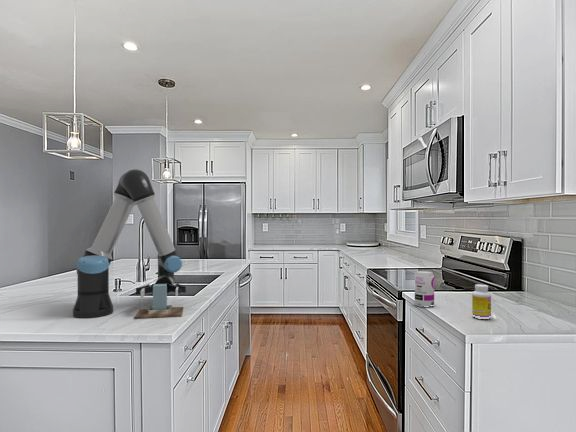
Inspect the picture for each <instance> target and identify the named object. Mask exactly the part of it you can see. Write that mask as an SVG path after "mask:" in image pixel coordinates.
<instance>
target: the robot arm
mask: <svg viewBox="0 0 576 432" xmlns="http://www.w3.org/2000/svg"><path fill="white" fill-rule="evenodd" d="M113 196H114V199H113V202H112V205H110V208H109V210H108V213H107V214H106V217H105V218H104V220H103V223H102V225H101V226H100V229H99V231H98V233H97V235H96V237H95V239H94V241H93V243H92V245H91V247H88V248H86V249H85V251H84V253H83V256H81V257H79V258H78V260H77V264H76V275H77V297H76V300H75V303H74V305H73V309H72V317H74V318H79V319H81V318H82V319H84V318H85V319H89V318H99V317H104V316H108V315H110V314H112V313H114V305H113V302H112V299H111V296H110V293H109V288H110V286H109V285H110V281H109V280H110V278H109V274H110V273H109V267H110V265H111V263H112V261H113V257H112V253H113V250H114V249H115V246H116V244H117V241H118V240H119V238H120V235H121V233H122V232H123V230H124V228H125V225H126V223H127V220H128V219H129V218H130V215H131V213H132V210H133V208H134V206H137V208H138V210H139V213H140V215H141V217H142V219H143V222H144V223H145V226H146V229H147V231H148V233H149V236H150V238H151V240H152V243H153V245H154V247H155V249H156V252H157V280H156V281H155V284H167V294H169V293H172V292H173V293H175V297H179V294H182V293H187V287H186V286H185V285H183V284H180V283H175V281H176V278H175V273H177V272H179V271H180V270H181V268H182V267H183V261H182V259H181V258H180V257H179V255H178V253H177V251H176V248H175V246H174V243H173V241H172V238H171V236H170V234H169V231H168V229H167V226H166V223H165V222H164V219H163V217H162V214H161V211H160V209H159V208H158V207H159V206H158V205H157V202H156V200H155V197H156V194H155V190H154V188H153V186H152V182H151V180H150V178H149V175H147V173H146V172H145V171H143V170H140V169H130V170H128V171H126V172H125V173H123V174H122V175H121V176H120V178H119V180H118V184H117V186H116V188H115V190H114V192H113ZM153 286H154V284H152V285H151V284H150V283H149V284H146V285H144V286H143V285H142V286H140V287H136V288H135V294H136V295H139V296H140V298H141V299H142V298H144V297H145V295H147V294H150V293H153Z"/></svg>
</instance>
